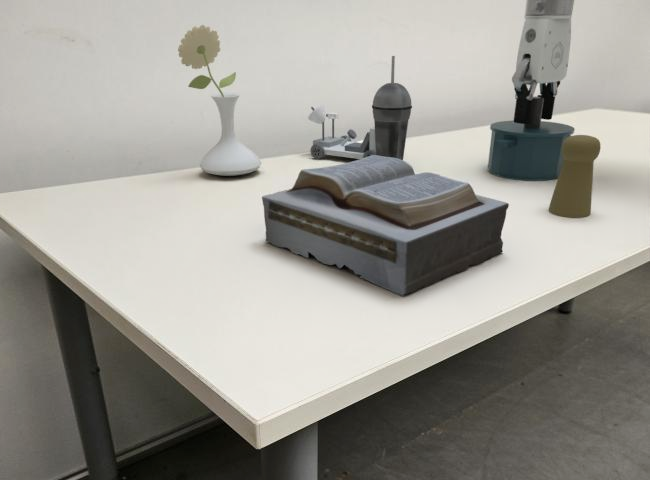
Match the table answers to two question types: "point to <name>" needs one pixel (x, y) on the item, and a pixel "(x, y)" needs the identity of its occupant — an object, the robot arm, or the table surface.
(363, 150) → the toy car
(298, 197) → the bible
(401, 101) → the beverage cup
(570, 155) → the cork
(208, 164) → the flower in vase
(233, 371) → the table surface
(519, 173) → the pot
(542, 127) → the lid
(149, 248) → the table surface
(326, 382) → the table surface
